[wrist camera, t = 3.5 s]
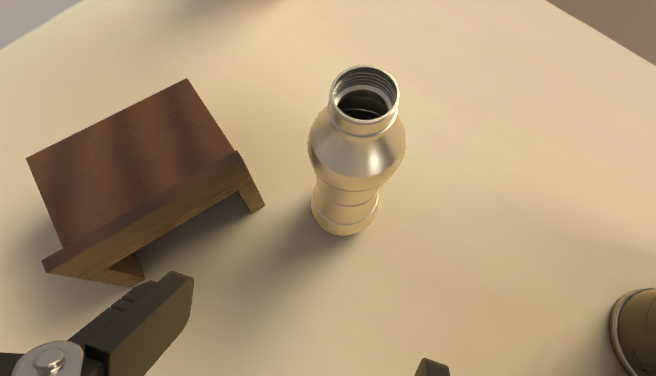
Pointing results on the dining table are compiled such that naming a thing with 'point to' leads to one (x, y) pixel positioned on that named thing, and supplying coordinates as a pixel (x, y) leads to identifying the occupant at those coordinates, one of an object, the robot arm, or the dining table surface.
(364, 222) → the silver metal bottle
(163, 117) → the shelf
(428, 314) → the dining table surface
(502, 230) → the dining table surface
